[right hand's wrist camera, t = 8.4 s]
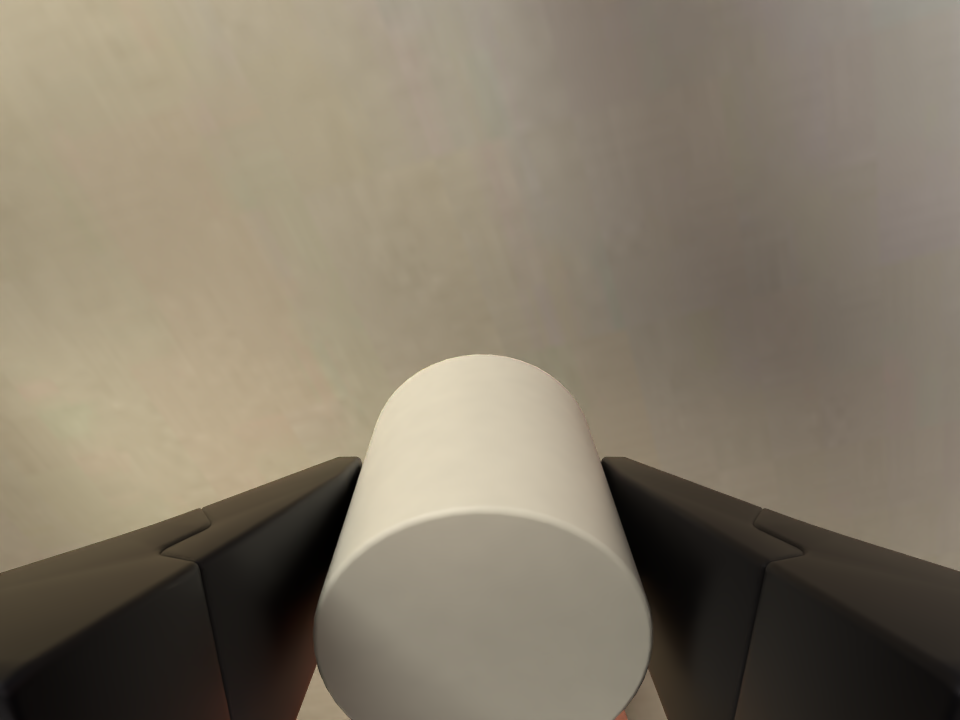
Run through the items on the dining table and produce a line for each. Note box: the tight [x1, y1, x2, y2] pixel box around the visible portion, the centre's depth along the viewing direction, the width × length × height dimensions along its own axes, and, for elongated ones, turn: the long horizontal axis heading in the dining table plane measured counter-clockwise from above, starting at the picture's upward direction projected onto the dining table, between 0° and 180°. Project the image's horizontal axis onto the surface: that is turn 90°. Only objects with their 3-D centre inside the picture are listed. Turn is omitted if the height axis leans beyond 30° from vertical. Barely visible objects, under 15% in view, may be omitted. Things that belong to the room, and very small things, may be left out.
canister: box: [313, 354, 653, 720], centre depth 10 cm, size 4×4×5 cm
